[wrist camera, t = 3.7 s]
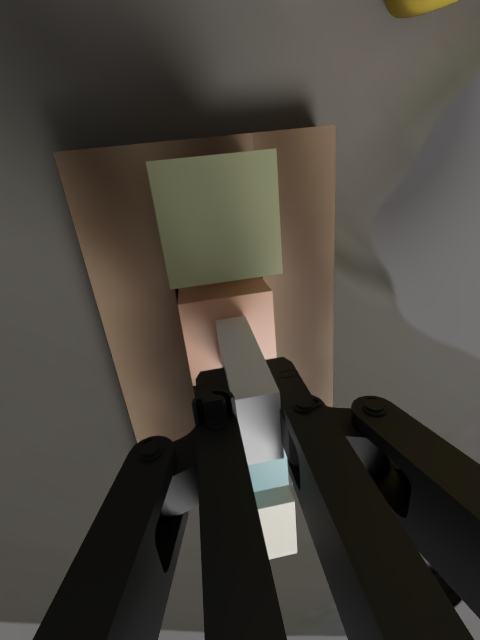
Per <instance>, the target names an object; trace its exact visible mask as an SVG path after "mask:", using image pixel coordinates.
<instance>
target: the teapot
mask: <svg viewBox="0 0 480 640" xmlns="http://www.w3.org/2000/svg"><path fill="white" fill-rule="evenodd" d="M456 1H459V0H385V2H386V5H387V7H388V9H389V11H390V13H391V15H393V16H394V17H396V18H409V17H414V16H419V15H423V14H426V13H428V12H431V11H434V10H436V9H439V8H442V7H444V6H447V5H450V4H452V3H454V2H456Z"/></svg>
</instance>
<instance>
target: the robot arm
mask: <svg viewBox="0 0 480 640" xmlns="http://www.w3.org/2000/svg"><path fill="white" fill-rule="evenodd" d="M215 322H216V329H217V336H218V343H219V350H220V357H221V364H222V368H218V369H212V370H206V371H200V373H199V374H198V376H197V378H196V397H195V398H194V399H193V401H192V410H193V415H194V420H195V425H196V426H195V427H194V429H193V430H192V431H191V432H190V433H188V434H187V435H186V436H184V437H182V438H180V439H178V440H175V441H173V442H172V440H171V439H169V438H167V437H166V436H159V435H158V436H151V437H148V438H146V439H143V440H141V441H140V442H138V443H137V444H136V445H134V447H133V448H132V449H131V450H130V452H129V454H128V455H127V457H126V459H125V461H124V463H123V465H122V467H121V469H120V471H119V473H118V475H117V477H116V479H115V481H114V483H113V485H112V487H111V488H110V490H109V492H108V494H107V496H106V498H105V500H104V502H103V504H102V506H101V508H100V510H99V512H98V514H97V516H96V518H95V520H94V521H93V523H92V525H91V527H90V529H89V531H88V533H87V535H86V537H85V539H84V541H83V543H82V545H81V547H80V549H79V551H78V553H77V555H76V556H75V558H74V560H73V562H72V564H71V566H70V568H69V570H68V572H67V574H66V576H65V578H64V580H63V582H62V584H61V586H60V588H59V589H58V591H57V593H56V595H55V597H54V599H53V601H52V603H51V605H50V607H49V609H48V611H47V613H46V615H45V617H44V619H43V621H42V622H41V624H40V626H39V628H38V630H37V632H36V634H35V636H34V638H33V640H158V637H159V633H160V629H161V625H162V621H163V617H164V613H165V608H166V604H167V600H168V596H169V592H170V588H171V584H172V580H173V576H174V572H175V567H176V563H177V559H178V555H179V551H180V547H181V543H182V539H183V535H184V531H185V527H186V522H187V518H188V510H190V509H192V508H194V507H196V506H198V505H199V515H200V539H201V562H202V586H203V609H204V633H205V640H287V638H286V633H285V629H284V624H283V620H282V615H281V611H280V607H279V602H278V598H277V593H276V589H275V584H274V580H273V575H272V571H271V566H270V562H269V557H268V553H267V548H266V544H265V539H264V535H263V530H262V526H261V522H260V517H259V513H258V508H257V504H256V499H255V495H254V490H253V486H252V481H251V477H250V472H249V468H248V465H252V464H257V463H262V462H267V461H272V460H277V459H282V458H284V450H285V453H286V456H287V463H288V480H289V488H290V487H292V483H293V486H294V488H295V491H296V494H297V497H298V500H299V502H300V505H301V508H302V511H303V514H304V517H305V519H306V522H307V525H308V528H309V531H310V534H311V536H312V539H313V542H314V545H315V548H316V550H317V553H318V556H319V559H320V562H321V565H322V567H323V570H324V573H325V576H326V579H327V581H328V584H329V587H330V590H331V593H332V596H333V598H334V601H335V604H336V607H337V610H338V613H339V615H340V618H341V621H342V624H343V627H344V629H345V632H346V635H347V638H348V640H474V639H473V637H472V636H471V634H470V633H469V631H468V629H467V628H466V626H465V625H464V623H463V621H462V620H461V618H460V617H459V615H458V613H457V612H456V610H455V609H454V607H453V606H452V604H451V602H450V601H449V599H448V598H447V596H446V594H445V593H444V591H443V590H442V588H441V587H440V585H439V583H438V582H437V580H436V579H435V577H434V575H433V574H432V572H431V571H430V569H429V568H428V566H427V564H426V563H425V561H424V560H423V558H422V556H423V557H424V558H425V559H426V560H427V561H428V562H429V563H430V564H431V566H432V567H433V568H434V569H435V570H436V571H437V572H438V573H439V574H440V576H441V577H442V578H443V579H444V580H445V581H446V582H447V583H448V584H449V585H450V587H451V588H452V589H453V590H454V591H455V592H456V593H457V594H458V595H459V597H460V598H461V599H462V600H463V601H464V602H465V603H466V604H467V605H468V606H469V608H470V609H471V610H472V611H473V612H474V613H475V614H476V615H477V616H478V617H479V619H480V464H478V463H477V462H475V461H474V460H473V459H471V458H470V457H468V456H467V455H465V454H464V453H463V452H461V451H460V450H458V449H457V448H455V447H454V446H453V445H451V444H450V443H448V442H447V441H446V440H444V439H443V438H441V437H440V436H438V435H437V434H436V433H434V432H433V431H431V430H430V429H428V428H427V427H426V426H424V425H423V424H421V423H420V422H418V421H417V420H416V419H414V418H413V417H411V416H410V415H408V414H407V413H406V412H404V411H403V410H401V409H400V408H399V407H397V406H396V405H394V404H393V403H391V402H390V401H388V400H386V399H384V398H380V397H377V396H363V397H359V398H357V399H356V400H354V401H353V403H352V405H351V409H349V408H334V407H329V406H326V405H325V403H324V402H323V401H322V400H321V399H320V398H318V397H316V396H314V395H311V393H310V391H309V390H308V388H307V386H306V385H305V383H304V381H303V380H302V378H301V376H300V375H299V373H298V371H297V370H296V368H295V366H294V365H293V363H292V362H291V361H290V360H288V359H286V358H285V357H278V358H272V359H266V360H265V358H264V356H263V354H262V352H261V350H260V347H259V345H258V343H257V341H256V339H255V336H254V334H253V332H252V330H251V327H250V325H249V323H248V321H247V319H246V316H240V317H234V318H227V319H220V320H215ZM283 448H284V449H283ZM418 551H419V552H420V553H421V554H422V556H421V555H420V553H419V552H418Z"/></svg>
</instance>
